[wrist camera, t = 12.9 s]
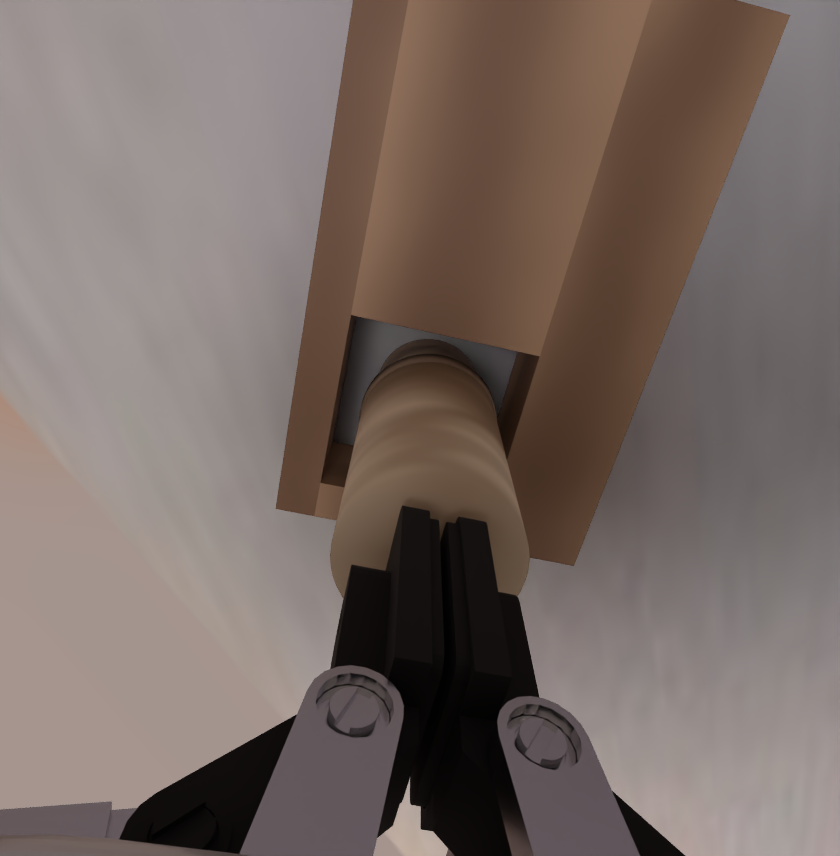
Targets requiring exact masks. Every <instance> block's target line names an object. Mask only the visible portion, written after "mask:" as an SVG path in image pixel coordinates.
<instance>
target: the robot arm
mask: <svg viewBox="0 0 840 856" xmlns="http://www.w3.org/2000/svg"><path fill="white" fill-rule="evenodd" d="M409 779H410V803H411V805H416V806H421V829H422V830H429V831H433V832H434V833H435V834H436V835H437V836H438V837H439V838H440V840H441V841H442V842H443V843H444V844H445V845H446V846H447V848H448V851H447V854H446V856H685V855H684V854H683V853H681V852H680V851H679V850H678V849H677V848H676V847H675V846H674V845H672V844H671V843H670V842H669V841H668V840H667V839H666V838H665V837H663V836H662V835H661V834H660V833H659V832H658V831H657V830H656V829H654V828H653V827H652V826H651V825H650V824H649V823H648V822H647V821H645V820H644V819H643V818H642V817H641V816H640V815H639V814H638V813H636V812H635V811H634V810H633V809H632V808H631V807H630V806H629V805H627V804H626V803H625V802H624V801H623V800H622V799H621V798H620V797H618V796H617V795H616V794H615V793H614V792H613V791H612V790H611V788H610V785H609V783H608V781H607V778H606V776H605V774H604V771H603V769H602V767H601V764H600V762H599V760H598V758H597V755H596V753H595V751H594V748H593V746H592V744H591V741H590V739H589V737H588V735H587V733H586V732H585V730H584V728H583V727H582V725H581V724H580V723H579V722H578V721H577V719H576V718H575V717H574V716H573V715H572V714H571V713H570V712H568V711H567V710H565V709H564V708H562V707H561V706H559V705H558V704H556V703H553V702H551V701H549V700H546V699H544V698H539V694H538V689H537V684H536V679H535V674H534V670H533V665H532V660H531V655H530V650H529V645H528V641H527V636H526V631H525V626H524V621H523V616H522V612H521V607H520V602H519V599H518V597H517V596H516V595H513V594H508V593H502V592H498V587H497V581H496V575H495V569H494V563H493V556H492V550H491V544H490V538H489V532H488V526H487V522H485V521H480V520H475V519H470V518H464V517H458V518H457V520H456V522H455V523H452V522H446V524H445V527H444V530H443V533H442V537H441V540H440V528H439V520H436V519H431V518H430V511H429V510H423V509H418V508H413V507H408V506H403V505H402V507H401V510H400V513H399V517H398V521H397V525H396V530H395V534H394V538H393V542H392V546H391V550H390V554H389V558H388V562H387V566H386V570H385V571H384V570H379V569H373V568H368V567H363V566H357V565H351V568H350V572H349V577H348V581H347V586H346V590H345V595H344V600H343V604H342V609H341V614H340V619H339V624H338V629H337V635H336V640H335V646H334V651H333V657H332V662H331V668H330V669H329V670H327V671H324V672H323V673H322V674H320V675H319V676H318V677H316V678H315V679H314V680H313V682H312V684H311V685H310V687H309V688H308V690H307V692H306V694H305V697H304V699H303V702H302V704H301V706H300V709H299V711H298V714H297V715H295V716H293V717H291V718H290V719H288V720H286V721H284V722H282V723H281V724H279V725H277V726H275V727H274V728H272V729H270V730H268V731H267V732H265V733H263V734H261V735H259V736H258V737H256V738H254V739H252V740H250V741H248V742H247V743H245V744H243V745H241V746H240V747H238V748H236V749H234V750H233V751H231V752H229V753H227V754H225V755H223V756H222V757H220V758H218V759H216V760H214V761H213V762H211V763H209V764H207V765H206V766H204V767H202V768H200V769H199V770H197V771H195V772H193V773H191V774H189V775H188V776H186V777H184V778H182V779H181V780H179V781H177V782H175V783H173V784H172V785H170V786H168V787H166V788H164V789H163V790H161V791H159V792H157V793H156V794H154V795H153V796H152V797H150V798H149V799H148V800H146V801H145V802H143V803H142V804H141V805H140V806H139V807H138V808H132V809H121V810H120V809H119V810H112V802H100V803H86V804H71V805H58V806H44V807H32V808H31V807H30V808H18V809H3V810H0V856H373V853H374V849H375V845H376V840H377V838H378V837H379V836H380V835H381V834H383V833H384V832H385V831H386V830H388V829H389V828H390V827H391V826H393V823H394V820H395V817H396V814H397V811H398V807H399V804H400V803H401V802H402V800H403V798H404V794H405V791H406V788H407V785H408V782H409Z"/></svg>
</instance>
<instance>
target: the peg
mask: <svg viewBox="0 0 840 856" xmlns="http://www.w3.org/2000/svg"><path fill="white" fill-rule="evenodd" d="M402 505H403V506H408V507H413V508H418V509H423V510H429V511H430V518H431V519H436V520H439V528H440V540H441V537H442V533H443V530H444V527H445V524H446V522H452V523H455V522H456V520H457V518H458V517H464V518H470V519H475V520H480V521H485V522H487V526H488V532H489V538H490V544H491V550H492V556H493V563H494V569H495V575H496V581H497V587H498V592H502V593H508V594H513V595H516V596H518V594H519V593H520V591H521V589H522V587H523V585H524V582H525V580H526V577H527V573H528V568H529V560H530V558H529V546H528V541H527V536H526V532H525V529H524V525H523V521H522V517H521V513H520V509H519V505H518V501H517V497H516V494H515V490H514V486H513V482H512V478H511V474H510V470H509V466H508V463H507V459H506V455H505V451H504V447H503V443H502V439H501V435H500V432H499V428H498V424H497V414H496V410H495V405H494V402H493V398H492V396H491V393H490V391H489V389H488V387H487V385H486V384H485V382H484V381H483V379H482V378H481V377H480V376H479V375H478V374H477V373H476V372H475V371H474V368H473V366H472V364H471V362H470V361H469V360H468V358H467V357H466V356H465V355H464V354H463V353H462V352H461V351H460V350H459V349H457V348H456V347H454V346H453V345H451V344H449V343H446V342H443V341H440V340H434V339H421V340H416V341H412V342H409V343H406V344H405V345H403V346H401V347H399V348H398V349H396V350H395V351H394V352H393V353H392V354H391V355H390V356H389V357H388V358H387V360H386V361H385V363H384V364H383V366H382V369H381V371H380V373H379V374H378V375H377V376H376V377H375V378H374V380H373V381H372V382H371V384H370V385H369V387H368V389H367V391H366V393H365V395H364V398H363V402H362V406H361V410H360V416H359V426H358V431H357V435H356V439H355V444H354V448H353V452H352V457H351V461H350V465H349V470H348V474H347V479H346V483H345V487H344V492H343V496H342V500H341V505H340V509H339V513H338V518H337V522H336V526H335V531H334V535H333V540H332V544H331V553H330V560H331V569H332V574H333V578H334V580H335V583H336V586H337V588H338V590H339V591H340V593H341V595H342V597H343V598H344V595H345V590H346V586H347V581H348V577H349V572H350V568H351V565H357V566H363V567H368V568H373V569H379V570H384V571H385V570H386V566H387V562H388V558H389V554H390V550H391V546H392V542H393V538H394V534H395V530H396V525H397V521H398V517H399V513H400V510H401V507H402Z"/></svg>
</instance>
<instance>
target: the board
mask: <svg viewBox="0 0 840 856" xmlns="http://www.w3.org/2000/svg"><path fill="white" fill-rule="evenodd" d="M789 17H790V15H788V14H784V13H780V12H777V11H773V10H770V9H766V8H762V7H759V6H755V5H751V4H748V3H744V2H741V1H737V0H353V5H352V11H351V18H350V25H349V31H348V38H347V44H346V51H345V57H344V64H343V71H342V77H341V84H340V90H339V97H338V103H337V110H336V116H335V123H334V130H333V136H332V143H331V149H330V156H329V162H328V169H327V176H326V182H325V189H324V195H323V202H322V208H321V215H320V221H319V228H318V235H317V241H316V248H315V254H314V261H313V267H312V274H311V281H310V287H309V294H308V300H307V307H306V313H305V320H304V327H303V333H302V340H301V346H300V353H299V359H298V366H297V372H296V379H295V386H294V392H293V399H292V405H291V412H290V418H289V425H288V432H287V438H286V445H285V451H284V458H283V464H282V471H281V477H280V484H279V491H278V497H277V504H276V509H280V510H285V511H290V512H296V513H301V514H306V515H311V516H316V517H322V518H327V519H332V520H337V518H338V513H339V509H340V505H341V500H342V496H343V492H344V487H345V483H346V479H347V474H348V470H349V465H350V461H351V457H352V452H353V448H354V446H351V445H346V444H341V443H336V442H333V438H334V433H335V427H336V422H337V417H338V411H339V406H340V400H341V395H342V390H343V384H344V379H345V374H346V368H347V363H348V357H349V352H350V347H351V341H352V336H353V331H354V325H355V320H356V316H358V317H363V318H367V319H372V320H376V321H381V322H386V323H390V324H395V325H399V326H404V327H408V328H413V329H417V330H422V331H427V332H431V333H436V334H440V335H445V336H449V337H454V338H458V339H463V340H467V341H472V342H477V343H481V344H486V345H490V346H495V347H499V348H504V349H508V350H513V351H518V353H517V356H516V359H515V363H514V366H513V369H512V373H511V376H510V379H509V383H508V386H507V389H506V393H505V396H504V399H503V403H502V406H501V409H500V413H499V416H498V420H497V424H498V428H499V432H500V435H501V439H502V443H503V447H504V451H505V455H506V459H507V463H508V466H509V470H510V474H511V478H512V482H513V486H514V490H515V494H516V497H517V501H518V505H519V509H520V513H521V517H522V521H523V525H524V529H525V532H526V536H527V541H528V546H529V557H530V558H535V559H541V560H546V561H551V562H556V563H561V564H567V565H572V566H574V564H575V562H576V559H577V556H578V554H579V551H580V549H581V546H582V544H583V541H584V539H585V536H586V534H587V531H588V528H589V526H590V523H591V521H592V518H593V516H594V513H595V511H596V508H597V506H598V503H599V500H600V498H601V495H602V493H603V490H604V488H605V485H606V483H607V480H608V478H609V475H610V472H611V470H612V467H613V465H614V462H615V460H616V457H617V455H618V452H619V450H620V447H621V444H622V442H623V439H624V437H625V434H626V432H627V429H628V427H629V424H630V422H631V419H632V416H633V414H634V411H635V409H636V406H637V404H638V401H639V399H640V396H641V393H642V391H643V388H644V386H645V383H646V381H647V378H648V376H649V373H650V371H651V368H652V365H653V363H654V360H655V358H656V355H657V353H658V350H659V348H660V345H661V343H662V340H663V337H664V335H665V332H666V330H667V327H668V325H669V322H670V320H671V317H672V315H673V312H674V309H675V307H676V304H677V302H678V299H679V297H680V294H681V292H682V289H683V287H684V284H685V281H686V279H687V276H688V274H689V271H690V269H691V266H692V264H693V261H694V259H695V256H696V253H697V251H698V248H699V246H700V243H701V241H702V238H703V236H704V233H705V230H706V228H707V225H708V223H709V220H710V218H711V215H712V213H713V210H714V208H715V205H716V202H717V200H718V197H719V195H720V192H721V190H722V187H723V185H724V182H725V180H726V177H727V174H728V172H729V169H730V167H731V164H732V162H733V159H734V157H735V154H736V152H737V149H738V146H739V144H740V141H741V139H742V136H743V134H744V131H745V129H746V126H747V124H748V121H749V118H750V116H751V113H752V111H753V108H754V106H755V103H756V101H757V98H758V96H759V93H760V90H761V88H762V85H763V83H764V80H765V78H766V75H767V73H768V70H769V67H770V65H771V62H772V60H773V57H774V55H775V52H776V50H777V47H778V45H779V42H780V39H781V37H782V34H783V32H784V29H785V27H786V24H787V22H788V19H789Z"/></svg>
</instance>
